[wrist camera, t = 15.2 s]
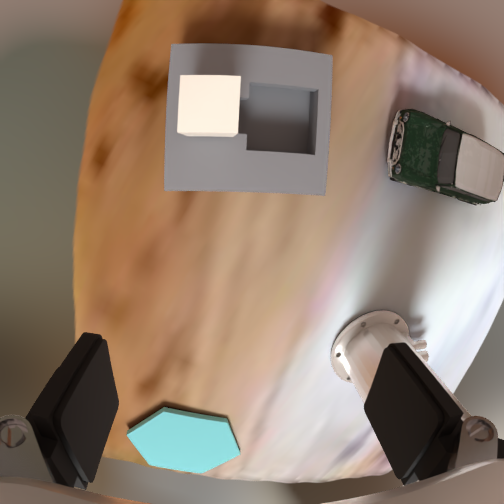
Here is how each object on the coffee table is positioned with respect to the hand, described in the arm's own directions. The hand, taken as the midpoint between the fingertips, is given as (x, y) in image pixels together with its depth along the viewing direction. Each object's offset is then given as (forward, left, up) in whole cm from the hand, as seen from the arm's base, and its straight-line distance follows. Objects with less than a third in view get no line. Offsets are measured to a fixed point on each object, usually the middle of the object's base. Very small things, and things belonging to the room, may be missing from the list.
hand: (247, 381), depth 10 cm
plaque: (+7, +39, -27) cm, 48 cm away
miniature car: (-27, -9, -27) cm, 39 cm away
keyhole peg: (+2, -10, -25) cm, 27 cm away
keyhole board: (-2, -10, -26) cm, 28 cm away
